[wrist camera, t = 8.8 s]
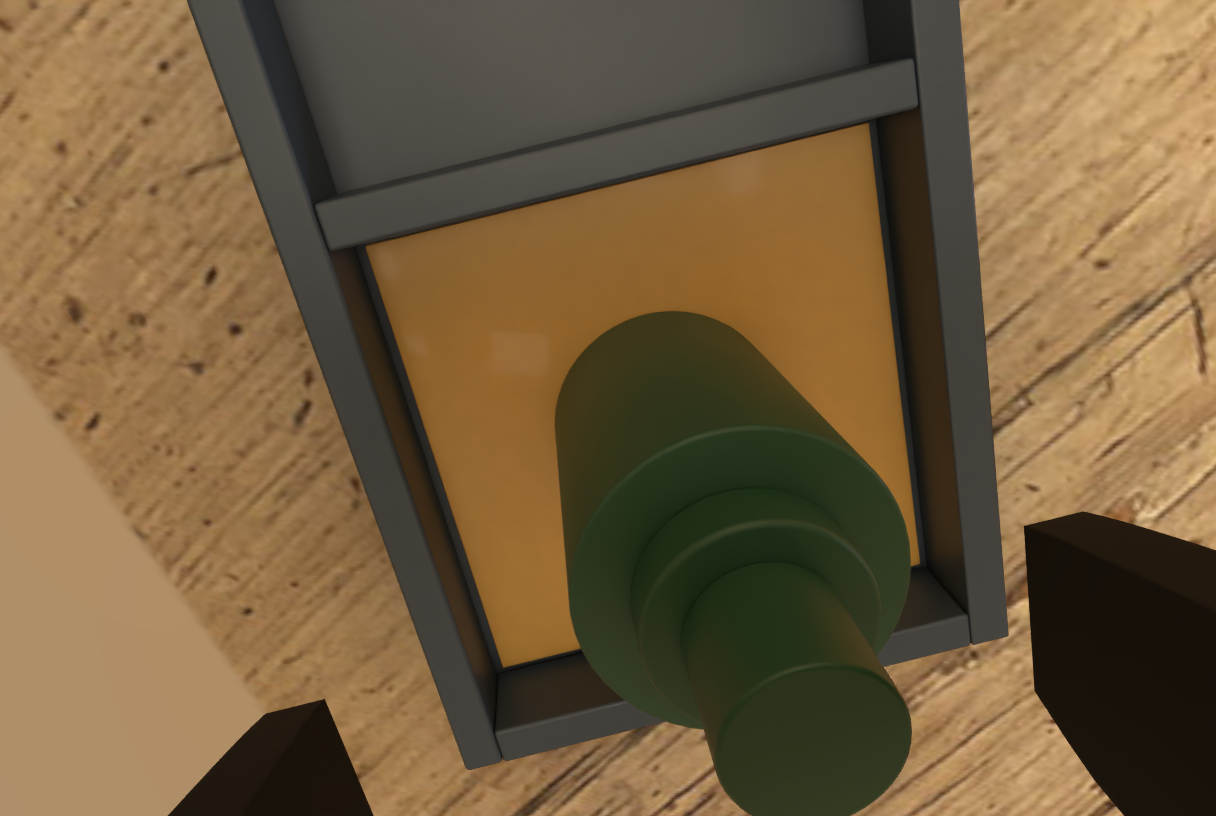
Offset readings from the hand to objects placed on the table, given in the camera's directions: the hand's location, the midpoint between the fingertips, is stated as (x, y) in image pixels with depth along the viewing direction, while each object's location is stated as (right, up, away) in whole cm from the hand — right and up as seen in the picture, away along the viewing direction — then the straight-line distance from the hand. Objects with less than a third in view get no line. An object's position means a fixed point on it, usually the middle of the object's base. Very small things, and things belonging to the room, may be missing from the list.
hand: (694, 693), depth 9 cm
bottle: (0, +3, +9) cm, 9 cm away
